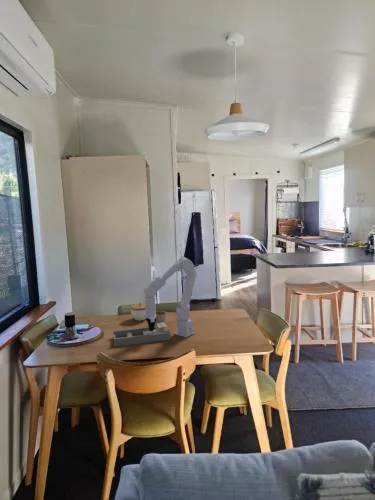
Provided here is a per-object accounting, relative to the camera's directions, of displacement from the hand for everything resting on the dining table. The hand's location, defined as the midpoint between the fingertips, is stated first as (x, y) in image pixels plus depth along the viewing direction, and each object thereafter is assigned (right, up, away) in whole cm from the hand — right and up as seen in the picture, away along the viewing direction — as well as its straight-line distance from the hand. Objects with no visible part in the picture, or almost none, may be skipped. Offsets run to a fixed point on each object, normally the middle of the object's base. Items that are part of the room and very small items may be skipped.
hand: (151, 330), depth 199 cm
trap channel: (-6, -4, -1) cm, 7 cm away
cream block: (+6, -1, +2) cm, 6 cm away
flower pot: (+3, -2, +18) cm, 18 cm away
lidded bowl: (-11, 0, +34) cm, 36 cm away
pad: (+5, -4, +2) cm, 6 cm away
